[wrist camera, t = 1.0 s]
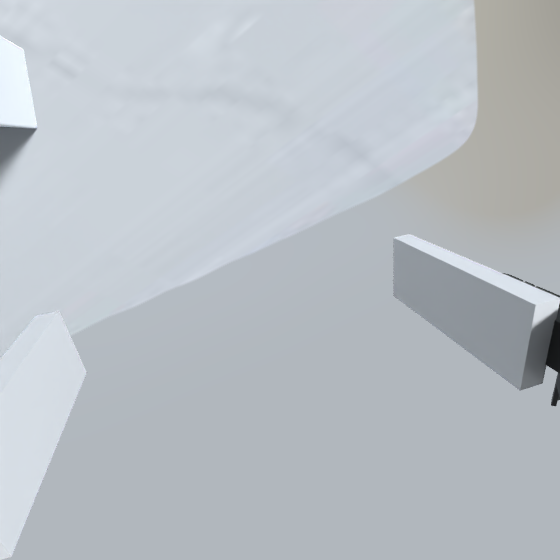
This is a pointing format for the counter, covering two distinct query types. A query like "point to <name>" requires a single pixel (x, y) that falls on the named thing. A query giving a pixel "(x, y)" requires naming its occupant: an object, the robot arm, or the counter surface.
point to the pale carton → (15, 88)
